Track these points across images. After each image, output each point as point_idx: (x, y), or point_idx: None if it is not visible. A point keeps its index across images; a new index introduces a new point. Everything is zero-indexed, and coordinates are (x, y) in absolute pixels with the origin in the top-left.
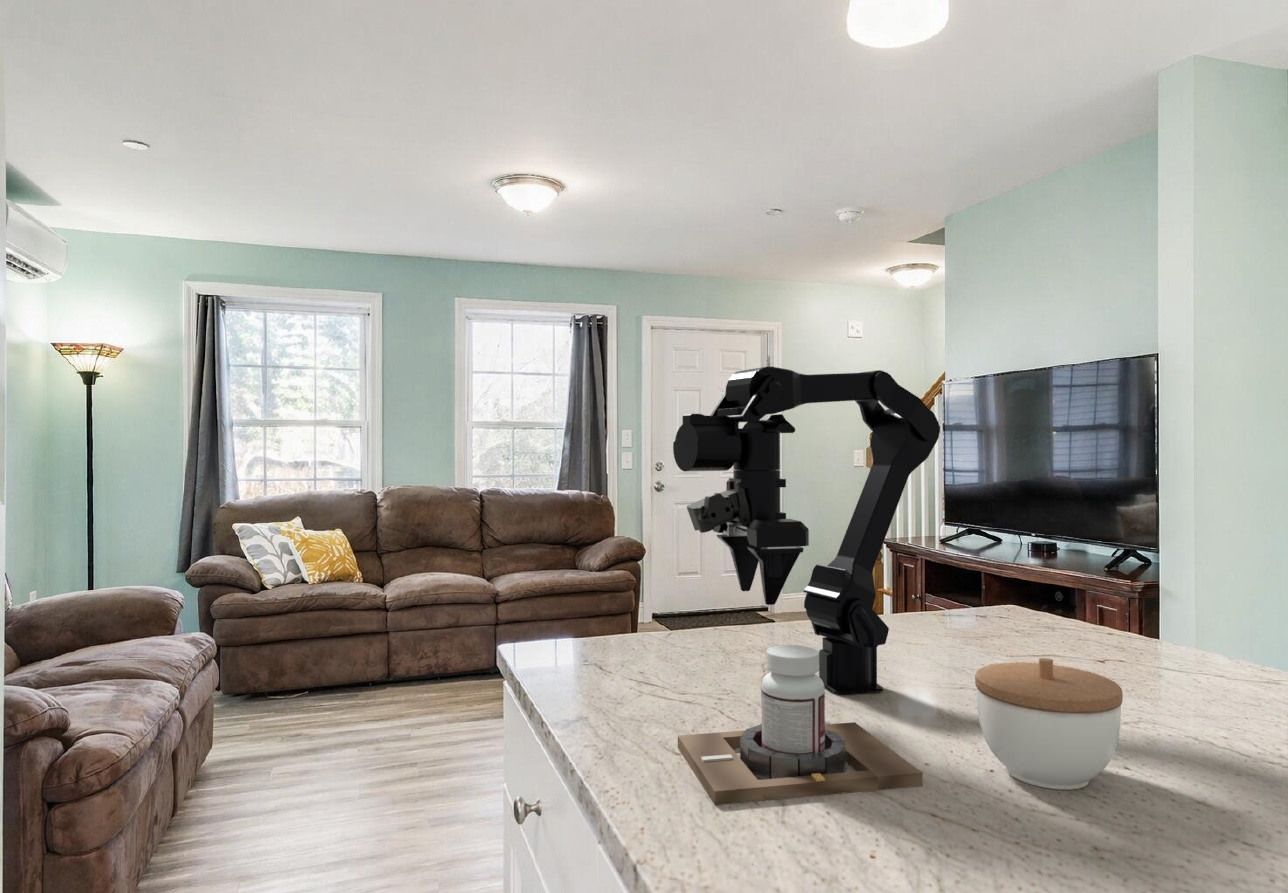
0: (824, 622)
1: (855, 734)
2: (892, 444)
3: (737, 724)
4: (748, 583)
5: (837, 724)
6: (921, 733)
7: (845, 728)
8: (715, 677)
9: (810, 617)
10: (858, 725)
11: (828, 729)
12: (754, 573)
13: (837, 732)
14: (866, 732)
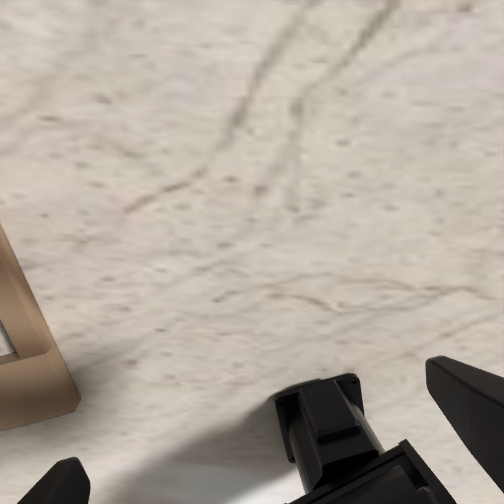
0: (344, 500)
1: (8, 406)
2: None
3: (101, 214)
4: (451, 412)
5: (57, 386)
6: (97, 479)
7: (37, 395)
8: (402, 190)
9: (395, 475)
10: (57, 415)
11: (25, 370)
12: (501, 489)
13: (12, 382)
14: (23, 422)
